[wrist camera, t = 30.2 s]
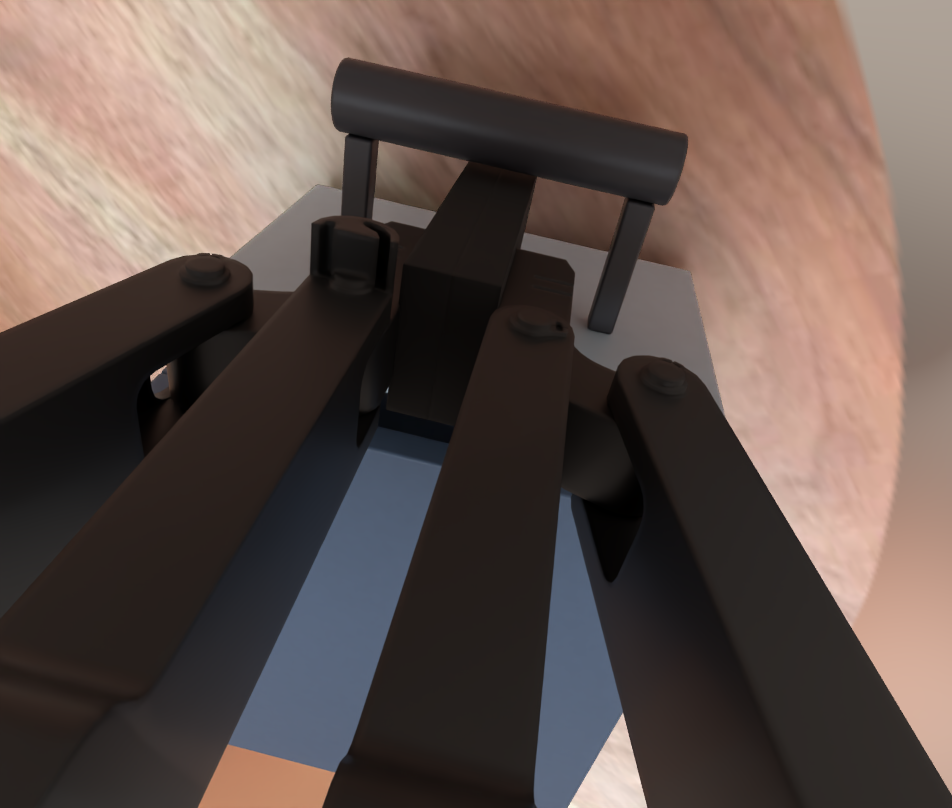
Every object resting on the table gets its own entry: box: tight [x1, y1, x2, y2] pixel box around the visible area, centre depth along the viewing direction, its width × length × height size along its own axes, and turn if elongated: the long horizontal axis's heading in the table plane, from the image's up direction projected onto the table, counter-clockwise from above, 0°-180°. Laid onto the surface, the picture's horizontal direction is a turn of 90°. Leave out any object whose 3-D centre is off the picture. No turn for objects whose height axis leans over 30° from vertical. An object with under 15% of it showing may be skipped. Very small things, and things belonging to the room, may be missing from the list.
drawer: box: [230, 58, 725, 444], centre depth 19 cm, size 18×11×8 cm, turn 170°
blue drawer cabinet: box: [151, 367, 623, 808], centre depth 22 cm, size 15×13×10 cm
